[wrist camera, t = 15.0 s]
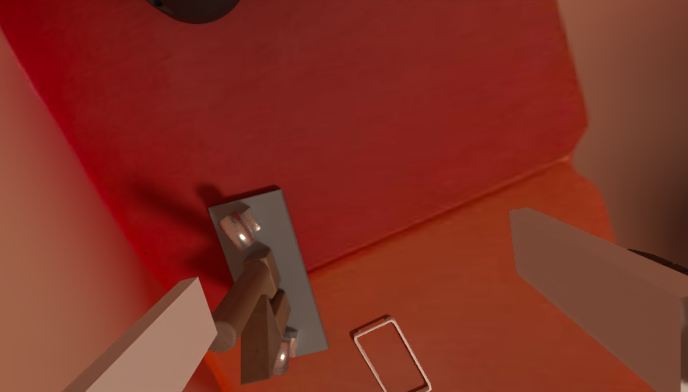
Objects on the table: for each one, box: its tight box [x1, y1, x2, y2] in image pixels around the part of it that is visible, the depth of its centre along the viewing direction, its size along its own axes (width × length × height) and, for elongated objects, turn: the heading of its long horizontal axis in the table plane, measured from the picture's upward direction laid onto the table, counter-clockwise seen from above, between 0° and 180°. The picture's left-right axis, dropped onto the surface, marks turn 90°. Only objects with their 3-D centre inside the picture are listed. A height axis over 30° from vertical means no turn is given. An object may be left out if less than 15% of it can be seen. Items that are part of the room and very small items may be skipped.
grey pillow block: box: [217, 207, 264, 252], centre depth 44 cm, size 5×4×5 cm
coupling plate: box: [208, 189, 329, 358], centre depth 49 cm, size 27×11×1 cm, turn 14°
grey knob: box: [272, 330, 298, 376], centre depth 48 cm, size 5×4×5 cm
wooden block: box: [208, 249, 291, 385], centre depth 40 cm, size 4×11×18 cm, turn 15°
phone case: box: [354, 317, 431, 392], centre depth 52 cm, size 7×1×15 cm
